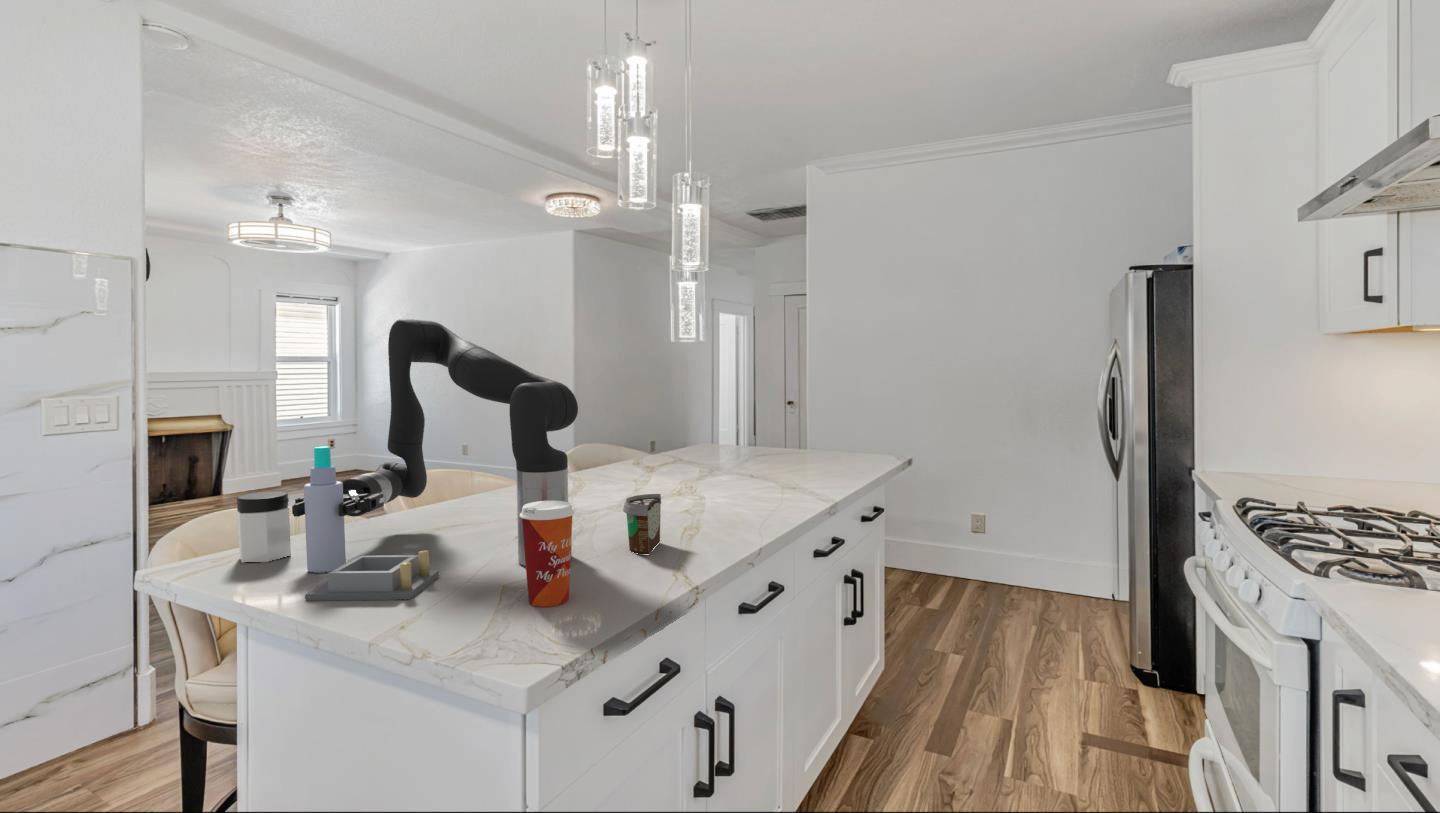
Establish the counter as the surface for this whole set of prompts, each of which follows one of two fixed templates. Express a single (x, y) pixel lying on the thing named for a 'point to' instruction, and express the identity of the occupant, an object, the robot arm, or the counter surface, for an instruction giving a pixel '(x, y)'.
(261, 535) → the jar
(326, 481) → the spray bottle
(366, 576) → the dock
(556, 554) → the coffee cup
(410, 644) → the counter surface
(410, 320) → the robot arm
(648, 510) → the food container
